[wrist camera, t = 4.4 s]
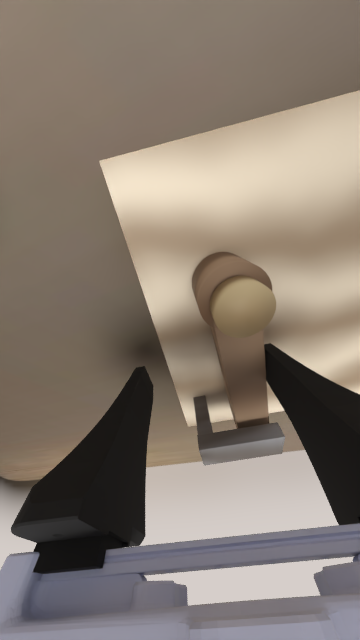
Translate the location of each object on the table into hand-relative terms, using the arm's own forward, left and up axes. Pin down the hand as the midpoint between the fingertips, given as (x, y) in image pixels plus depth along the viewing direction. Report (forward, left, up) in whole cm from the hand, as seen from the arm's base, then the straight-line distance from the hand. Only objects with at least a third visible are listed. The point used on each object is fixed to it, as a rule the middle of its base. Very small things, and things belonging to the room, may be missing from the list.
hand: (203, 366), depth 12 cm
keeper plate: (0, +7, -4) cm, 8 cm away
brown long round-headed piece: (+1, +3, -2) cm, 3 cm away
